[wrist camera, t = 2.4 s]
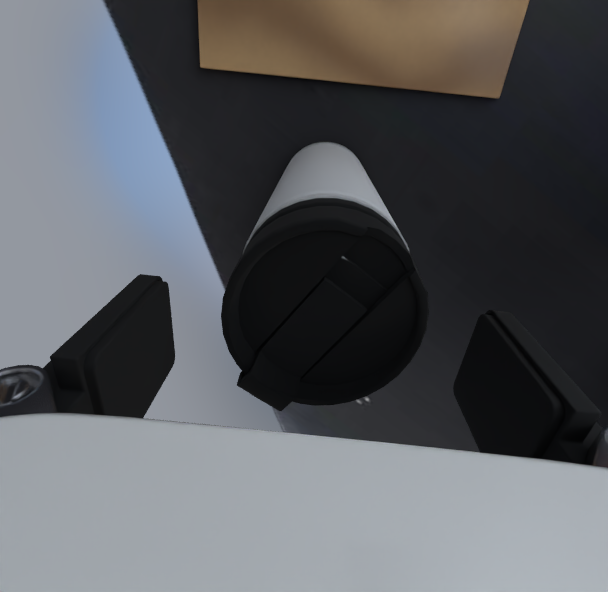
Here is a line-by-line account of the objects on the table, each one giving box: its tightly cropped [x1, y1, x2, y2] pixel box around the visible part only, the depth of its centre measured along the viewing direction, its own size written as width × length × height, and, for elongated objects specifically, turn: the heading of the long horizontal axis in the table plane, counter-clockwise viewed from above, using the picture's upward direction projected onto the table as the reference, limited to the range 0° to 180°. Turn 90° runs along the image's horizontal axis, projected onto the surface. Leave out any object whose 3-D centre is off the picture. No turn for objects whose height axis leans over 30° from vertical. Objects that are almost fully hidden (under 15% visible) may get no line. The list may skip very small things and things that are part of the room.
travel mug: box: [221, 142, 429, 411], centre depth 19 cm, size 6×7×20 cm
